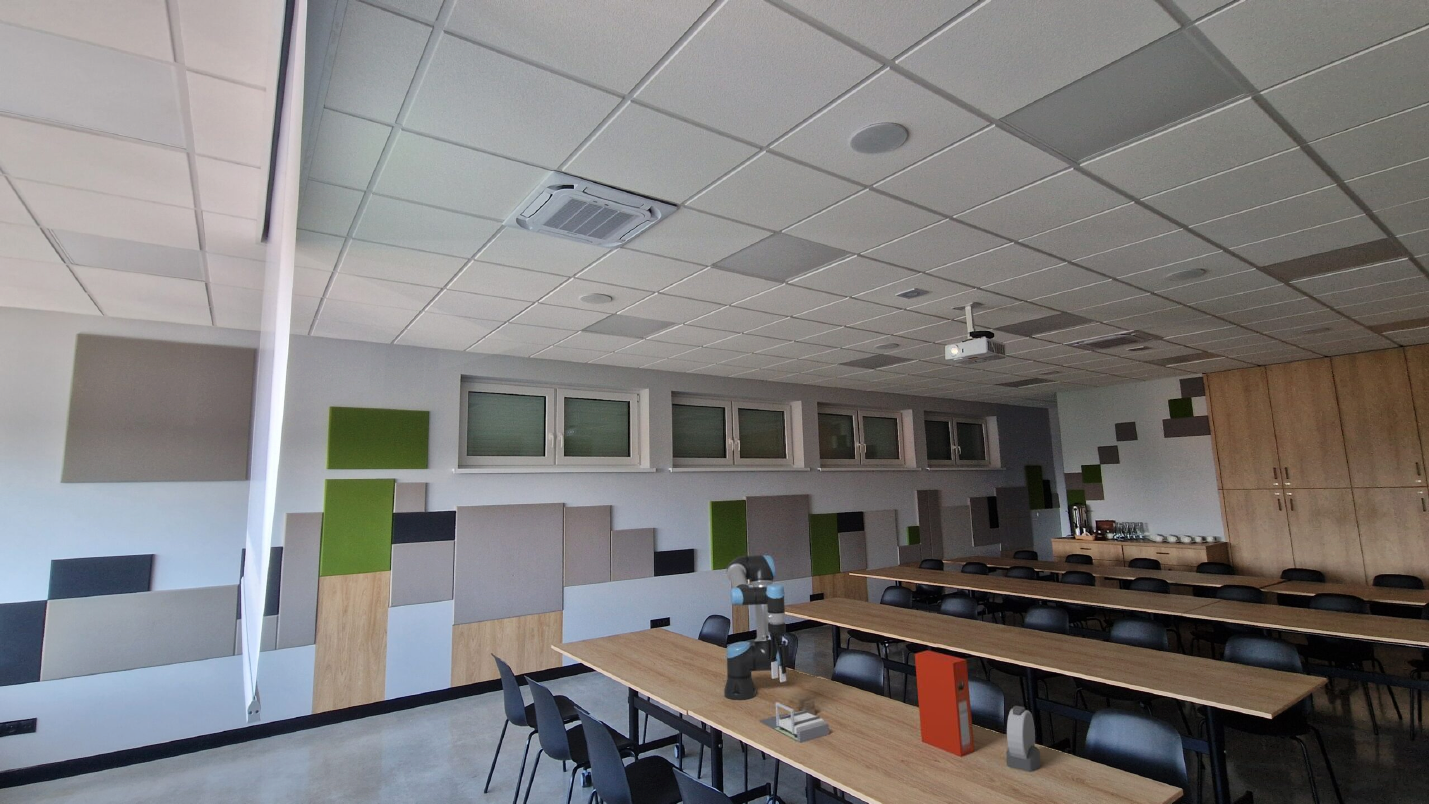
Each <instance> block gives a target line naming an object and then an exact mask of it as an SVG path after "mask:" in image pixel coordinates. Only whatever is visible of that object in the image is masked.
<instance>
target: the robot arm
mask: <svg viewBox="0 0 1429 804" xmlns="http://www.w3.org/2000/svg"><path fill="white" fill-rule="evenodd" d="M774 561H775V560H774V559H773V557H772V556H771V555H763V554H762V555H761V554H760V555H742V556H741V555H740V556H738V557H736V558H734V559H732V561H731V562H730V563H729V564H728V565H727V568H726V577H727V579H728V580H729V581H730V583H731V586H732V588H731V589H730V603H731V605H732V606H738V607H739V606H754V608H755V609H754V611H755V625H756V638H755V640H753V642H754V643H753V644H751V642H750V641H738V642H737V641H736V642H734V643H731V644H729V645H728V646H727V647H726V655H725V656H726V673H727V674H726V681H725V686H724V690H723V695H724V697H725V698H727V699H730V700H736V701H737V700H738V701H740V700H744V701H745V700H749V699H752V698H754V697H756V695H757V690H756V686H755V684H754V680H753V678H752V677H753V675H752V672H765V671H767V672H768V671H770V672H771V679H778V678H779V682H780V683H784V682H787V665H790V652H789V649H790V648H789V646H790V640H789V639H786V638H785V633H786V631H787V630H786V629H787V627H786V626H787V625H786V610H785V609H786V608H785V589H784V586H783V585H782V584H777V583H776V584H774V580H775V579H776V577H777V573H776V570H777V569H776V566H775V562H774ZM749 580H750V581H749ZM749 583H750V584H751V586H750V584H749ZM778 670H779V671H778Z"/></svg>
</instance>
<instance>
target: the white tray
mask: <svg viewBox="0 0 1429 804" xmlns="http://www.w3.org/2000/svg"><path fill="white" fill-rule="evenodd" d="M779 707H780V708H782V709H784V710H787V711H788V712H790V714H789V715H785V716H781V717H779V715H780V712H779V711H780V710H779ZM775 716H776V725H777V726H780V729H781V730H784V729H787V730H789V731H791V732H792V734H794V736H795V737H797V730H801V729H804V728H808V727H811V726H815V725H819V724H822V723H825V719H822V718H821V716H819V715H817V716H816V715H812V714H810V713H807V710H805V711H800V712H799V711H797V712H795V710H794V709H793V708H791V707H789V706H787V705H784V704H782V703H780V702H777V701H776V702H775Z"/></svg>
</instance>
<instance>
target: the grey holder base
mask: <svg viewBox="0 0 1429 804" xmlns="http://www.w3.org/2000/svg"><path fill="white" fill-rule="evenodd" d="M785 715H789V714H788V713H783V714H779V717H781V716H785ZM758 722H759V723H762V724H763V725H765V726H767V727H770V728H771V729H773V730H775V731H777V732H779V733H781V734H782V735H785V737H789V738H790V739H792V740H794V741H796V742H798V743H799V744H800V743H805V742H808V741H811V740H814V739H819V738H822V737H824V736H829V735H830V729H829V727H830V726H829V723H828V722H824V723H822V724H819V725H815V726H811V727H808V728H804V729H801V730H797V737H795V736H794V734H792V732H791V731H789V730H787V729H784V730H781V729H780V726H777V725H776V715H775V716H772V717H768V718H764V719H759V720H758Z"/></svg>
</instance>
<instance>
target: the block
mask: <svg viewBox="0 0 1429 804" xmlns="http://www.w3.org/2000/svg"><path fill="white" fill-rule="evenodd" d="M815 702H816V701H815V700H814V699H812V698H809V697H803V698H800V699H797V704H798V705H797V707H798V708H797V709H798V712H800V711H805V710H807V713H810V714H812V715H814V716H816V703H815Z"/></svg>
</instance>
